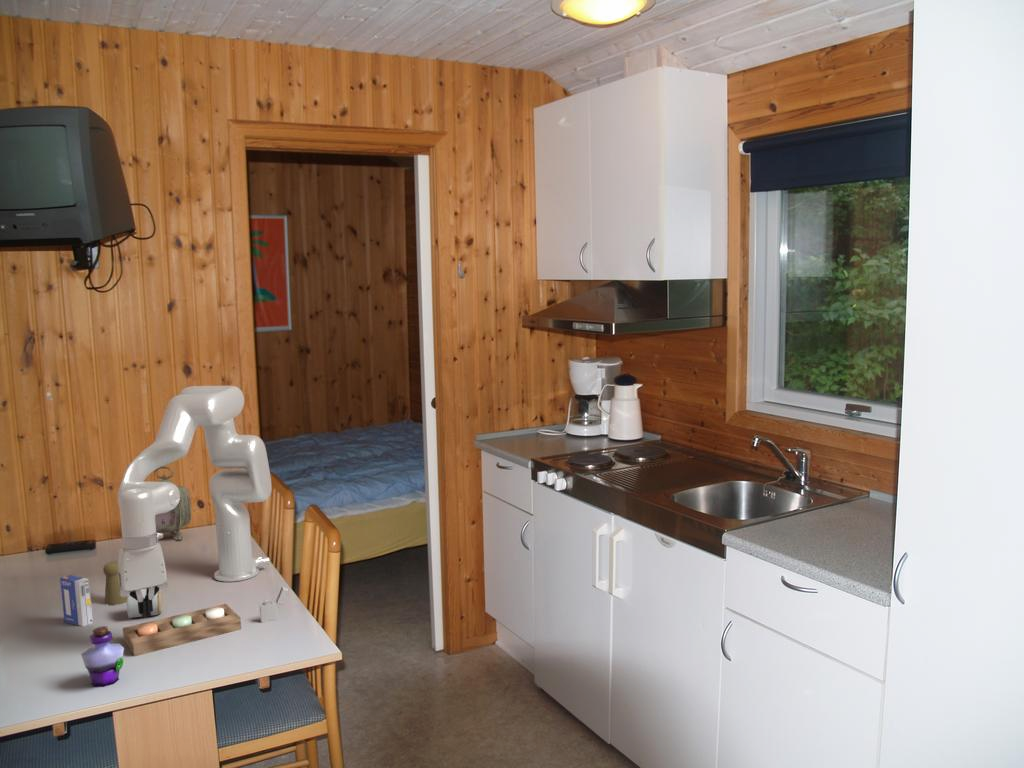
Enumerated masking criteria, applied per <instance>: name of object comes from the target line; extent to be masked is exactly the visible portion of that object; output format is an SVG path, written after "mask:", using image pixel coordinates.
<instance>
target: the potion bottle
mask: <svg viewBox="0 0 1024 768" xmlns="http://www.w3.org/2000/svg"><path fill="white" fill-rule="evenodd" d="M113 639H114V638H113V632H112V631H111V630H109V627H108V626H99V627H95V628H94V629H93V630H92V634H91V635H90V636H89V640H90V643H91V644H92V645H94V646H92V647H89V648H87V649H86V650H84V651H83V652H82V653H81V654H80V655H81V659H82V662H83V665H84V667H85V668H86V670H87V672H88V674H89V676H90V677H89V678H90V679H91V686H92V687H93V688H96V687H97V688H105V687H109V686H110V685H114V684H115V683H117V682H118V681H119V680H120V678H119V677H120V670H121V669H122V667H123V666H124V658H123V657H124V650H125V647H124V646H122V645H121V643H110V641H112V640H113Z"/></svg>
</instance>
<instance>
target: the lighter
mask: <svg viewBox="0 0 1024 768" xmlns="http://www.w3.org/2000/svg"><path fill="white" fill-rule="evenodd" d="M288 591H289V589H288V588H287V587H285V586H281V588H280V590H279V593H278V595H277V598H276V600H275V601H273V600H272V598H270V599H264V600H263V601H262V603H259V607H258V608H259V618H260V623H262V624H263V623H268V622H275V621H278V620H279V618H278V617H279V615H278V614H279V613H278V605H283V603H284V600H285V598H286V596H287V594H288Z"/></svg>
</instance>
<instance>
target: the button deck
mask: <svg viewBox="0 0 1024 768" xmlns="http://www.w3.org/2000/svg"><path fill="white" fill-rule="evenodd" d="M212 608H223V609H224V617H220V618H215V619H211V620H207V619H206V611H207V610H209V609H212ZM183 615H188V616H191V620H192V624H191V625H187V626H182V627H178V628H173V623H172V620H173V619H174V618H175V617H178V616H183ZM149 623H154V624H157V628H158V633H153V634H149V635H145V636H141V637H138V627H139V626H141V625H144V624H149ZM239 630H242V620H241V616H240V615H238V613H236V612H235V611H234V610H233V609H232V608H231V607H230V606H229V605H228V604H227V603H224V604H219V605H215V606H209V607H205V608H202V609H198V610H194V611H189V612H185V613H181V614H177V615H176V614H175V615H172V616H168V617H167V616H166V617H163V618H159V619H155V620H151V621H146V622H141V623H138V624H134V625H129V626H125V627H122V633H123V634H122V635H123V636H122V637H123V641H124V642H125V645H127V647H128V649H129V650H130V652H131V653H132V654H133V656H134V657H136V656H140V655H144V654H149V653H151V652H152V653H153V652H156V651H160V650H165V649H168V648H172V647H176V646H181V645H184V644H188V643H192V642H195V641H200V640H204V639H207V638H212V637H215V636H219V635H223V634H228V633H231V632H235V631H239Z"/></svg>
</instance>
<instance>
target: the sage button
mask: <svg viewBox="0 0 1024 768" xmlns="http://www.w3.org/2000/svg"><path fill="white" fill-rule="evenodd" d="M172 623H173V628H178V627H182V626H187V625H191V624H192V620H191V616H188V615H183V616H178V617H175V618H174V619H173V620H172Z"/></svg>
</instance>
